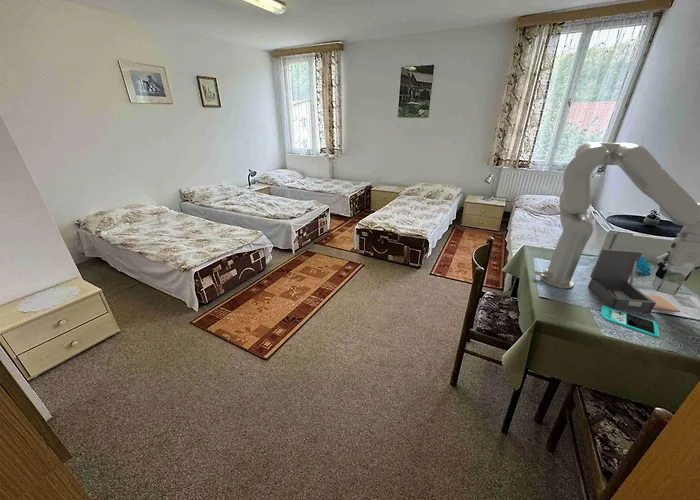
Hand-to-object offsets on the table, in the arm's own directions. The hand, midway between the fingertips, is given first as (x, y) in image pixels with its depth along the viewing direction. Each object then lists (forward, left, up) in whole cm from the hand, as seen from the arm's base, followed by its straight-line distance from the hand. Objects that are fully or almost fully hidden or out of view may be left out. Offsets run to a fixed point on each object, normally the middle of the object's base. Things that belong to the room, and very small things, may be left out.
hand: (670, 277), depth 112 cm
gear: (+13, +29, -12) cm, 34 cm away
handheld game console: (-19, -15, -13) cm, 28 cm away
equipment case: (-14, 0, -12) cm, 19 cm away
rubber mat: (0, 0, -12) cm, 12 cm away
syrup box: (0, 0, -6) cm, 6 cm away
